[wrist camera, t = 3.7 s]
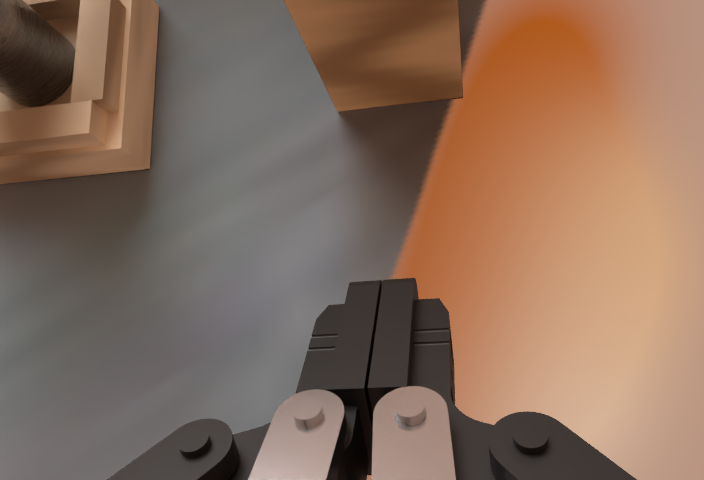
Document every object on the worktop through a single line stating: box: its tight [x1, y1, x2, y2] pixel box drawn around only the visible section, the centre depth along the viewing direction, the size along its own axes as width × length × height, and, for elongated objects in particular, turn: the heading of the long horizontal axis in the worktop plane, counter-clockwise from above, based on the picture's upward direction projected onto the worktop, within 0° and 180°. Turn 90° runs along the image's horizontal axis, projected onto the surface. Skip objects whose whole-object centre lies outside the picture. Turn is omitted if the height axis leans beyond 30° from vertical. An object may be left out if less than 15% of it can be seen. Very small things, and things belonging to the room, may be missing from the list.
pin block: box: [0, 0, 159, 184], centre depth 24 cm, size 7×7×3 cm
